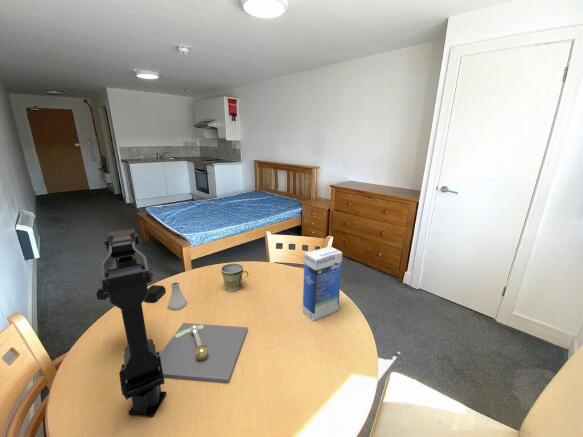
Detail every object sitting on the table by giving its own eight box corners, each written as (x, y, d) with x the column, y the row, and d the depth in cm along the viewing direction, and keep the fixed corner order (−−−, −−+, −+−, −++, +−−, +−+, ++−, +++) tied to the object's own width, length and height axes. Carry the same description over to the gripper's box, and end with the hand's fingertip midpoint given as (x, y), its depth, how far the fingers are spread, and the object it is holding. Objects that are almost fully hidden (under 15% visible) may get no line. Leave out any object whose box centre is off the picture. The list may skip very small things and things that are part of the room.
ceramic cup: (217, 290, 120) (216, 271, 117) (229, 280, 129) (228, 261, 127) (243, 295, 116) (242, 275, 114) (253, 284, 126) (252, 265, 123)
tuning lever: (209, 358, 80) (208, 350, 80) (197, 362, 79) (196, 354, 78) (199, 328, 93) (198, 322, 92) (188, 332, 91) (187, 325, 91)
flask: (180, 311, 105) (177, 289, 102) (164, 309, 106) (161, 287, 104) (190, 301, 112) (188, 280, 109) (175, 299, 113) (172, 278, 110)
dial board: (228, 383, 74) (228, 379, 74) (147, 375, 76) (146, 372, 75) (247, 330, 95) (247, 326, 95) (183, 325, 97) (183, 322, 97)
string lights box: (327, 302, 113) (330, 245, 106) (339, 311, 107) (343, 252, 100) (301, 311, 106) (303, 252, 99) (313, 322, 100) (316, 259, 93)
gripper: (172, 261, 86) (177, 303, 90) (117, 258, 87) (125, 300, 91) (151, 277, 75) (158, 324, 79) (90, 274, 76) (100, 320, 81)
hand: (135, 316), depth 83 cm, fingers closed
